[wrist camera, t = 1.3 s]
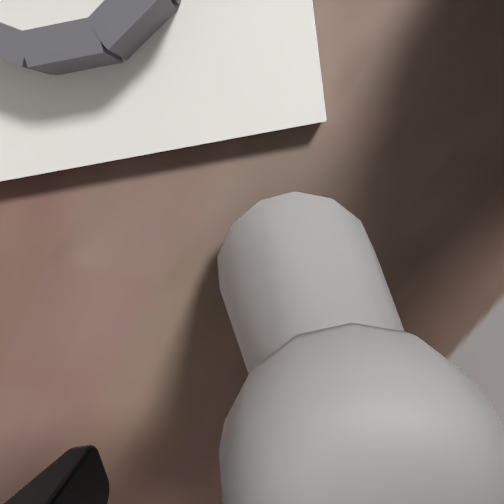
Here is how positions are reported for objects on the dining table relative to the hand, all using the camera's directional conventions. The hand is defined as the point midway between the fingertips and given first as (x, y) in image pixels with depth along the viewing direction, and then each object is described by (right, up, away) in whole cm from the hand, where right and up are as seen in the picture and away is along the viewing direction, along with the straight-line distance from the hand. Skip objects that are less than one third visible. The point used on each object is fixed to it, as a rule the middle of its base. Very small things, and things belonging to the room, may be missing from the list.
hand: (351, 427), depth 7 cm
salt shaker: (0, +3, +11) cm, 11 cm away
